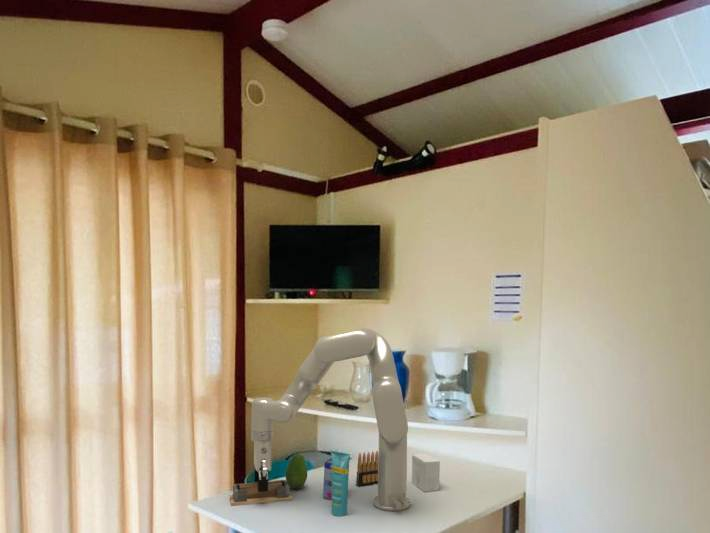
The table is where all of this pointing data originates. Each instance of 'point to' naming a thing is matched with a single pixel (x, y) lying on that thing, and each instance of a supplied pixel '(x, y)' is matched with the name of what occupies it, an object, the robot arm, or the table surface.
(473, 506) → the table surface
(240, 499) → the rail
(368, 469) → the ammunition clip
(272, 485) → the slat
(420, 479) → the skincare box
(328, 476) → the ink cartridge box
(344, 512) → the tube
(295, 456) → the avocado
